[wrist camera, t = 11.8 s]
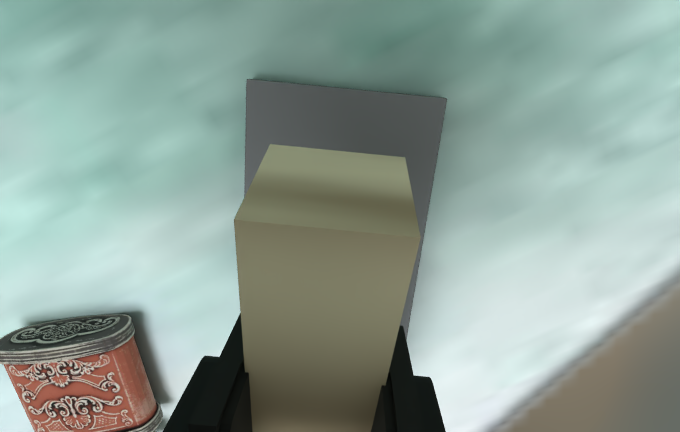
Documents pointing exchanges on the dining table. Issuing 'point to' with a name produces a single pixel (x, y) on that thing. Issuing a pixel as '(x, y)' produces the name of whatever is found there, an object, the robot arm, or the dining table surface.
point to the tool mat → (349, 134)
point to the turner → (323, 284)
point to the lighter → (81, 375)
